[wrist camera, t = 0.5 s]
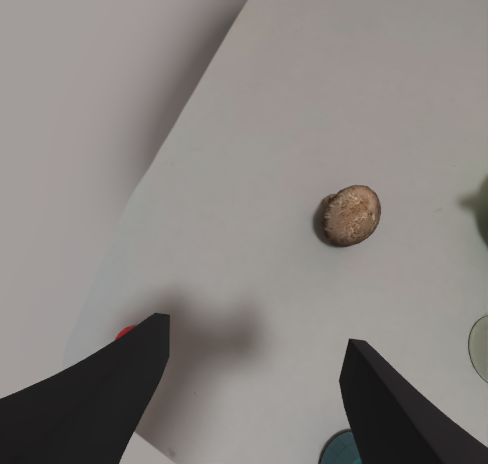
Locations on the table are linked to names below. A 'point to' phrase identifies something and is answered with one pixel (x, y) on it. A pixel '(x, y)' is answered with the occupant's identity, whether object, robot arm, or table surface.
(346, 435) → the bowl
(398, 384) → the robot arm
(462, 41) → the table surface
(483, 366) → the can
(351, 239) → the mushroom
